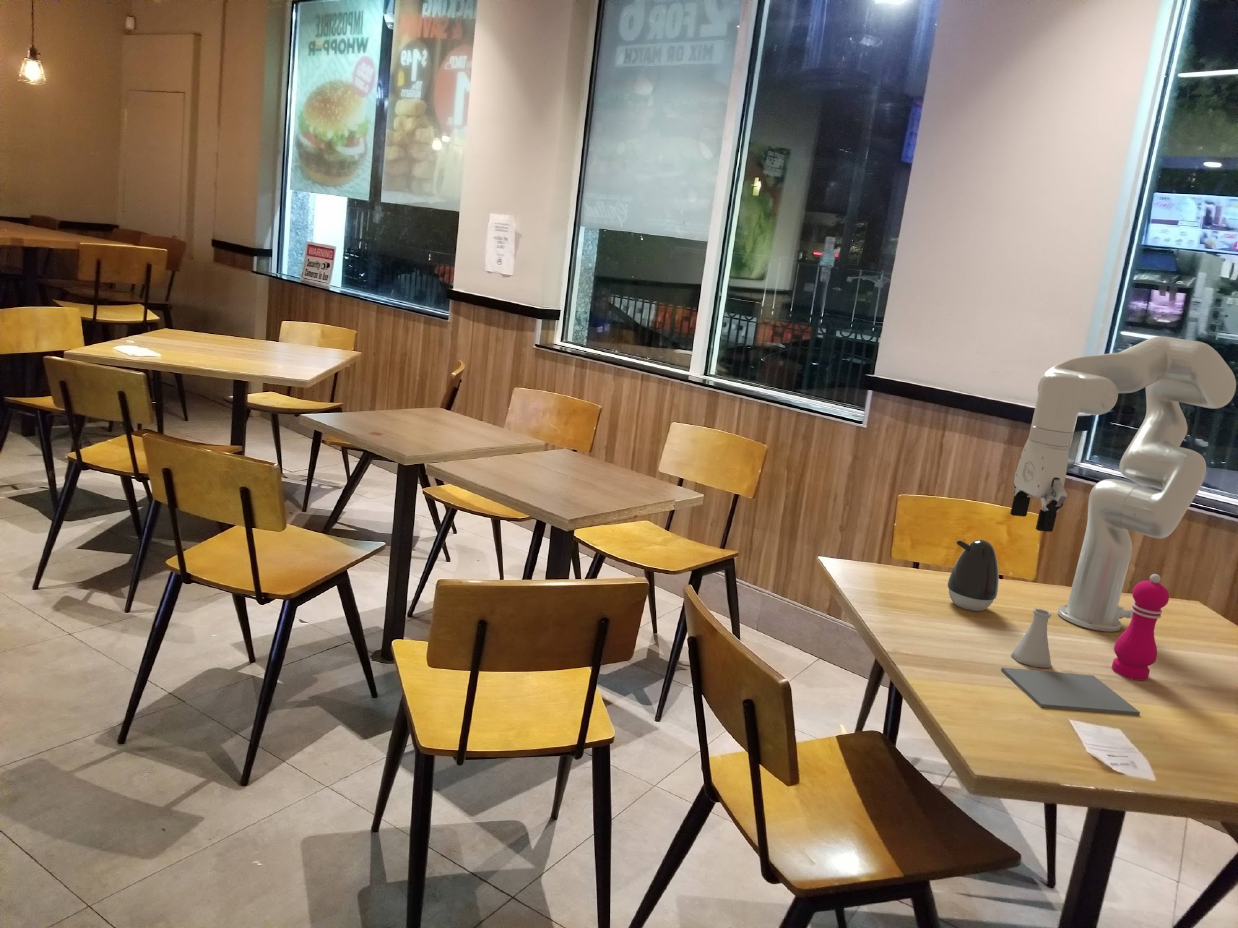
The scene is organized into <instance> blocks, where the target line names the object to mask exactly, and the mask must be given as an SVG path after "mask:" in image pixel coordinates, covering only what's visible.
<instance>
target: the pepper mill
mask: <svg viewBox="0 0 1238 928" xmlns="http://www.w3.org/2000/svg"><path fill="white" fill-rule="evenodd" d="M1161 579H1162V578H1161V576H1160V575H1158V574H1156V573H1152V574H1151V575H1149V580H1142V581H1139V582H1138V583H1136V584H1135V585H1134V588H1133V589H1132V593H1131V596H1132V598H1133V600H1134V602H1132V605H1131V608H1130V610H1132V611H1133V615H1132V619H1130V622H1129V624H1128V625H1127V627H1126V628H1125V630H1124V631H1123V632H1122V633H1121V634H1120V635H1119V636H1118V638H1117V639H1116V641H1115V642H1114V647H1113V651H1114V654H1115V655H1116V657H1115V658H1114V659H1113V661H1112V665H1111V669H1112V670H1113V672H1114V673H1116V674H1117V675H1119V676H1122V677H1123V678H1124V677H1125V678H1127V679H1131V680H1135V681H1146V680H1148V678H1149V675H1150V672H1151V669H1150V668H1149V666H1151V665H1153V664H1154V663H1155V662H1156V661H1157V658H1158V647H1157V643H1156V639H1155V628H1156V625H1157V621H1158V619H1161V617H1162V615H1161V614H1163V610H1162V609H1163V608H1164V607H1166V606H1167V605H1168V602H1169V600H1170V593H1169V591H1168V589H1167V587H1165V586H1164V585H1163V584H1161V583H1160V582H1161Z"/></svg>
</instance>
